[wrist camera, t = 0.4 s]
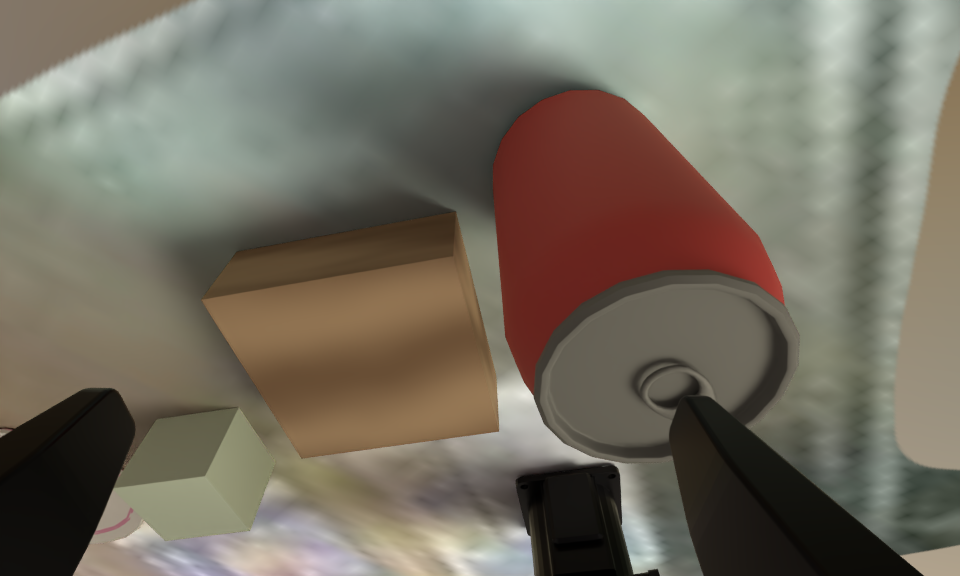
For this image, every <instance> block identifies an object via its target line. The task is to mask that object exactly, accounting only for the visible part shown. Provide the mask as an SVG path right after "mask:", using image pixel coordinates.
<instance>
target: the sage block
mask: <svg viewBox="0 0 960 576" xmlns="http://www.w3.org/2000/svg"><path fill="white" fill-rule="evenodd" d="M274 465H275V460H274V459H273V457H272V456H271V454H270V453H269V451H268V450H267V448H266V447H265V445H264V444H263V442H262V441H261V439H260V438H259V436H258V435H257V433H256V432H255V430H254V429H253V427H252V426H251V425H250V423H249V422H248V420H247V419H246V417H245V416H244V414H243V413H242V411H241V410H240V408H239V407H238V408H231V409H224V410H217V411H210V412H203V413H197V414H190V415H183V416H176V417H169V418H162V419H156V421H155V422H154V424H153V425H152V427H151V428H150V430H149V432H148V433H147V435H146V436H145V438H144V439H143V441H142V442H141V444H140V445H139V447H138V449H137V450H136V452H135V453H134V455H133V456H132V458H131V459H130V461H129V462H128V464H127V466H126V467H125V469H124V470H123V472H122V473H121V475H120V476H119V478H118V479H117V481H116V484H115V486H114V489H113V490H114V491H115V492H116V493H117V494H118V495H119V496H120V497H121V498H122V499H123V500H124V501H125V502H126V503H127V504H128V505H129V506H130V507H131V508H132V509H133V510H134V511H135V512H136V513H137V514H138V515H139V516H140V517H141V518H142V519H143V520H144V521H145V522H146V523H147V524H148V525H149V526H150V527H151V528H152V529H154V530H155V531H156V532H157V533H158V534H159V535H160V536H161V537H162V538H163V539H164V540H165V541H169V540H177V539H185V538H194V537H202V536H210V535H218V534H227V533H235V532H243V531H250V530H251V527H252V524H253V522H254V519H255V516H256V513H257V511H258V508H259V505H260V503H261V500H262V497H263V495H264V492H265V489H266V486H267V484H268V481H269V478H270V476H271V473H272V470H273V468H274Z"/></svg>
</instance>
